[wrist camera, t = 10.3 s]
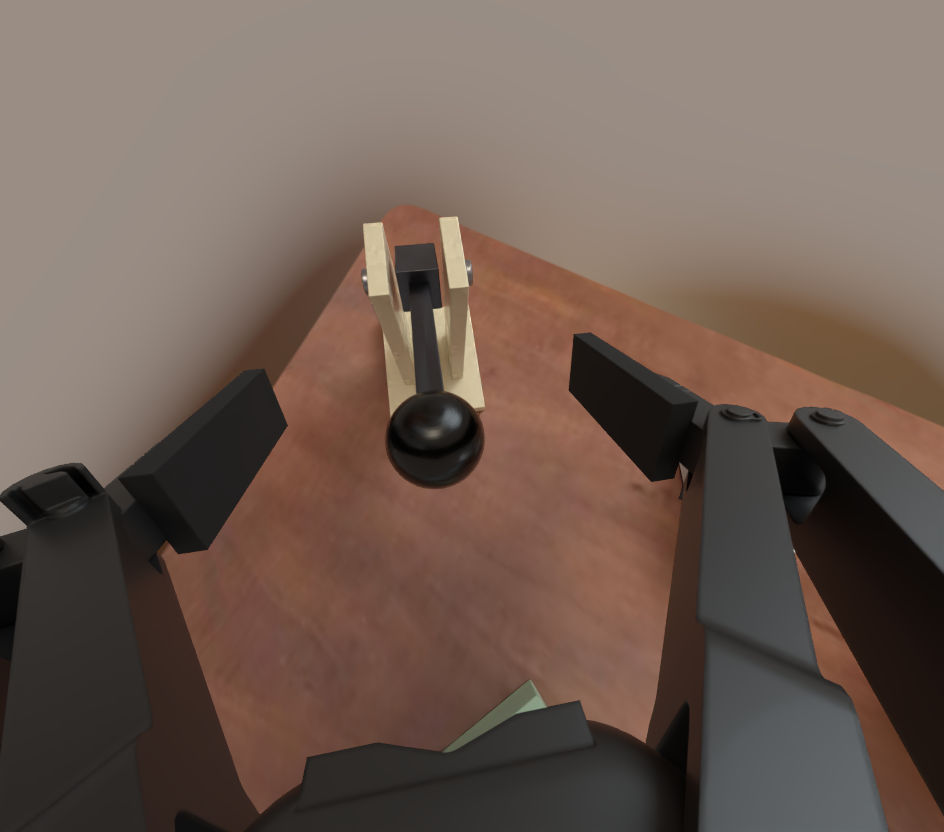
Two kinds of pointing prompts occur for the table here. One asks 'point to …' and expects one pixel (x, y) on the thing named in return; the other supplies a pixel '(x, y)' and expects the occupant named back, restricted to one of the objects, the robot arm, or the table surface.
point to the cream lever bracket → (449, 319)
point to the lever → (429, 389)
